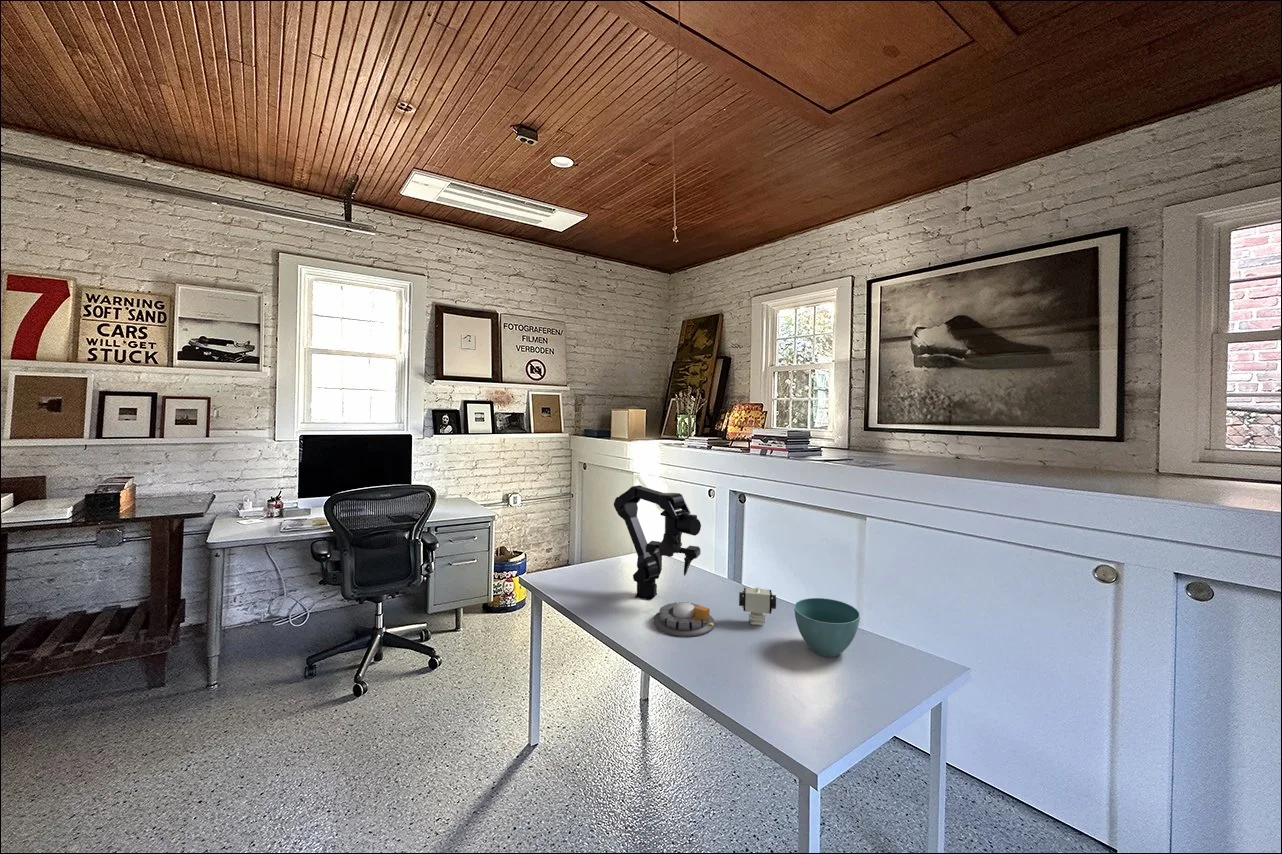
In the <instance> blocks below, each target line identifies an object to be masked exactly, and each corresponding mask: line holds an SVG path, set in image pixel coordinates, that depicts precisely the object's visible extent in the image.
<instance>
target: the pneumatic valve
mask: <svg viewBox="0 0 1282 854" xmlns="http://www.w3.org/2000/svg"><path fill="white" fill-rule="evenodd" d="M738 602H739V603H738V606H740V607H741V608H742V609H743V612H747V613H748V612H749V614H748V622H750V623H749V624H750V625H752V626H758V627H759V626H760V627H761V626H764V624H765V623H766V615H765V614H769V615H770V614H772V611H773V610H777V595H776V594H773V592H772V589H765V588H760V587H754V588H752V587H743V590H742V591H741V592H740V591H739V596H738Z"/></svg>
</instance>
